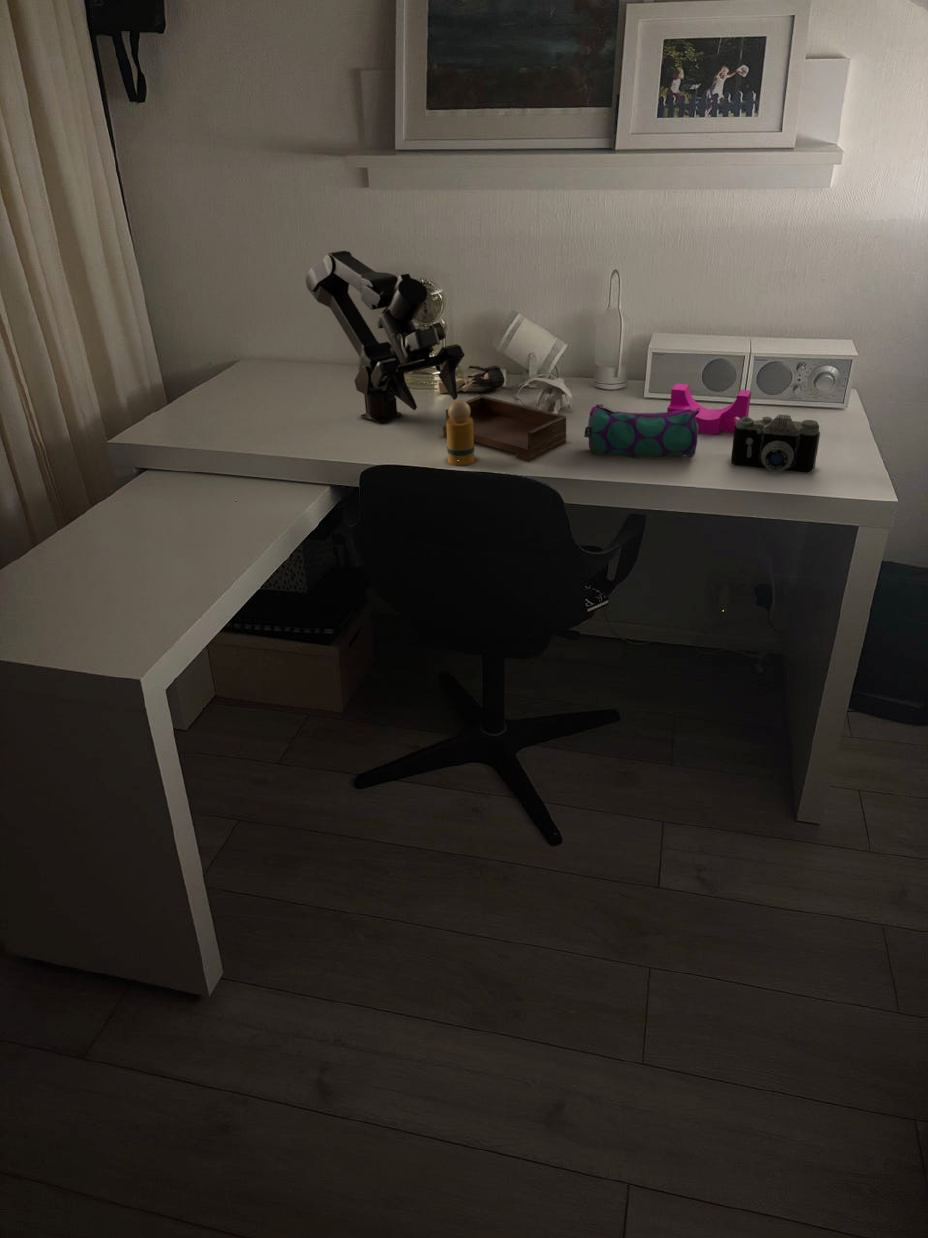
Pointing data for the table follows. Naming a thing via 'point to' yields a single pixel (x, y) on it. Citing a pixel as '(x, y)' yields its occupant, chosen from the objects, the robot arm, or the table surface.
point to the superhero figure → (551, 393)
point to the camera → (776, 444)
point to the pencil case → (642, 433)
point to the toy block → (710, 410)
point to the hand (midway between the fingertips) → (435, 403)
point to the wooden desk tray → (515, 427)
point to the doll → (460, 434)
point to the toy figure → (478, 380)
